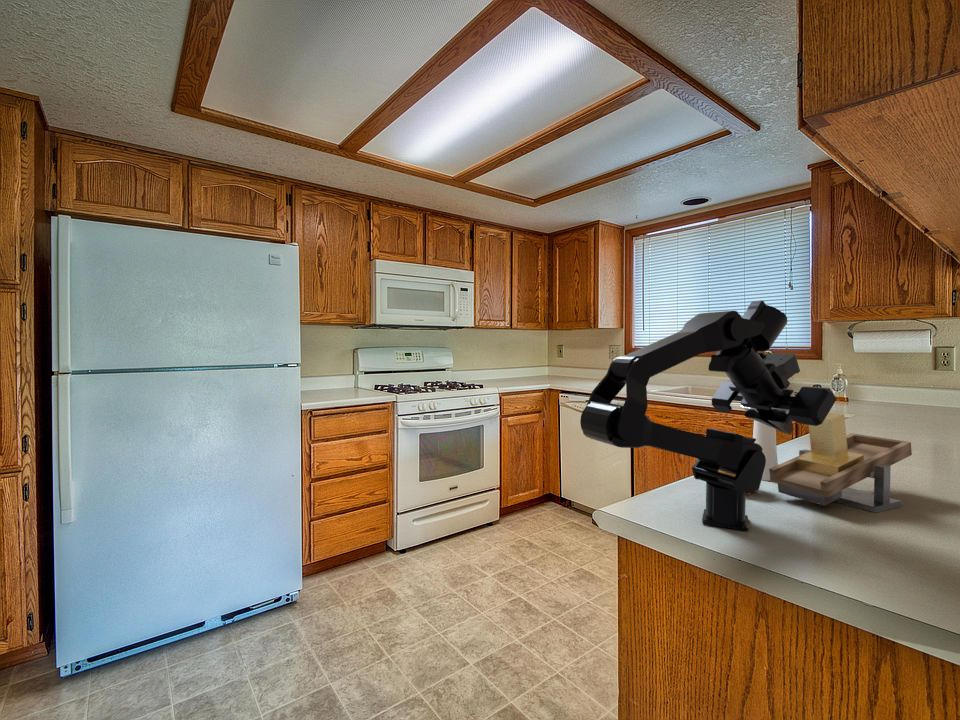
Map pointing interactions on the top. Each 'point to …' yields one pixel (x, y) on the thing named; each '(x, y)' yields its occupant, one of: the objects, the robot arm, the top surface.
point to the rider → (829, 448)
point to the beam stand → (869, 500)
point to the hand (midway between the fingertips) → (789, 432)
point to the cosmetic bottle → (766, 446)
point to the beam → (831, 487)
